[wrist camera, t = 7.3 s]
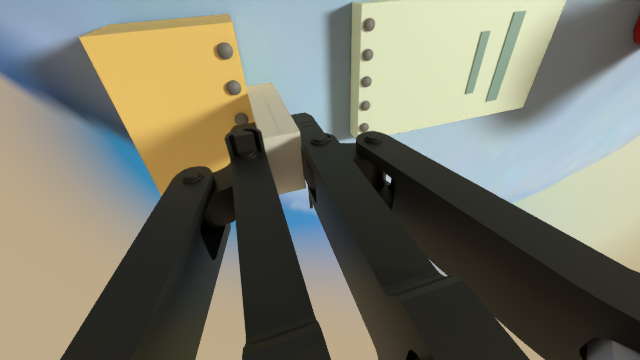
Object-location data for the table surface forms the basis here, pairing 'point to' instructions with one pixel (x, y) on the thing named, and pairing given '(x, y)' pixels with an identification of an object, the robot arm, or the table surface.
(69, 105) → the table surface
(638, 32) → the plastic cup
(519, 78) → the pale green flat block
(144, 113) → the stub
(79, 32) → the table surface
